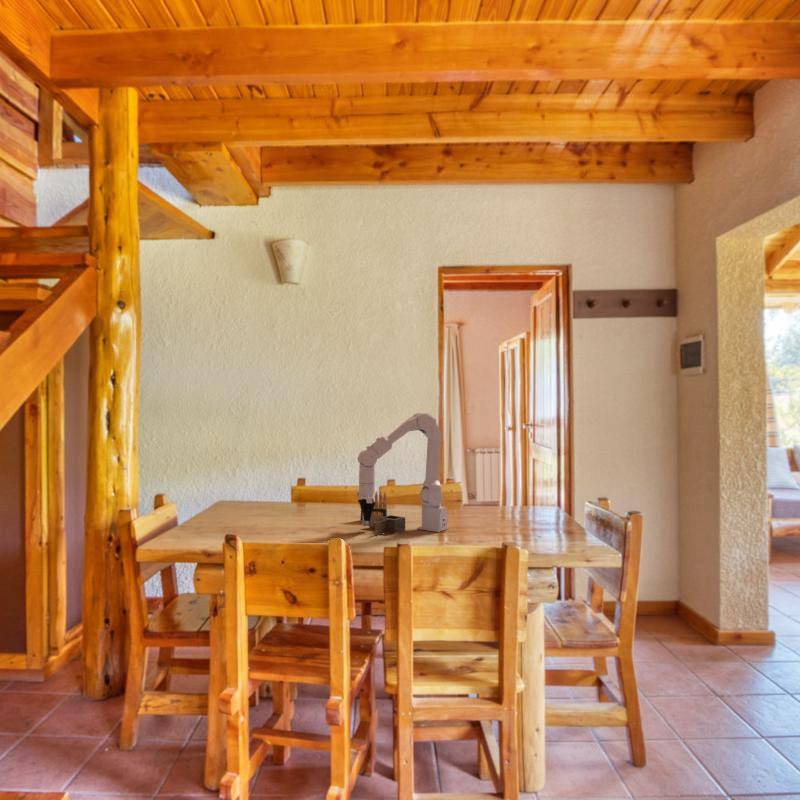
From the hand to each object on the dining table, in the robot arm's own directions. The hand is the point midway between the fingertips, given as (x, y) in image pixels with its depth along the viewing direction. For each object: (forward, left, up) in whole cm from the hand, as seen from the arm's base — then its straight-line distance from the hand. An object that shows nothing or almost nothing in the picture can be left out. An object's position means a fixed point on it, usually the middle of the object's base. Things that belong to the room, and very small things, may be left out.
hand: (366, 519), depth 223 cm
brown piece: (-3, -3, -4) cm, 7 cm away
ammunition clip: (+10, -18, -5) cm, 21 cm away
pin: (0, 0, -2) cm, 2 cm away
